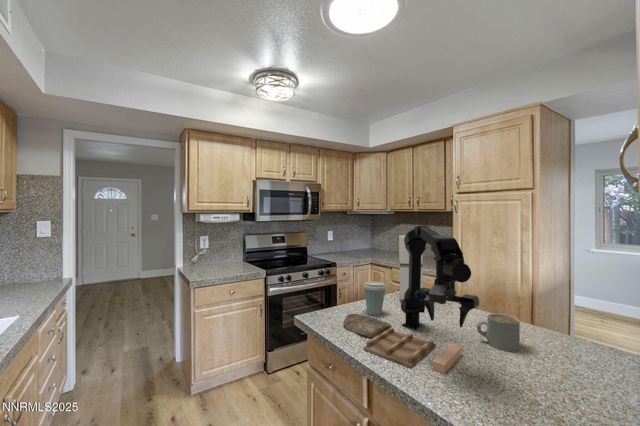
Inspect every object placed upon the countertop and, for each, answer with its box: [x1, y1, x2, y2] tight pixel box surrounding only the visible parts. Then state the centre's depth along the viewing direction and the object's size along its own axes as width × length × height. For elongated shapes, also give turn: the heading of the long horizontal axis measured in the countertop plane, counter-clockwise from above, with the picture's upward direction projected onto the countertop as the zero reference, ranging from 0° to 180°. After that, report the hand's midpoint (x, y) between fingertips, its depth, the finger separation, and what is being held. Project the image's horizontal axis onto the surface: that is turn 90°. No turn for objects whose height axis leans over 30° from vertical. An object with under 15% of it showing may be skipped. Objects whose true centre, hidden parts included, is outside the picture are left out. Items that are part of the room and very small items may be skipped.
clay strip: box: [432, 343, 463, 375], centre depth 98 cm, size 16×4×3 cm, turn 137°
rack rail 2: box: [408, 338, 435, 363], centre depth 102 cm, size 18×1×2 cm, turn 137°
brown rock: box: [342, 313, 393, 338], centre depth 125 cm, size 14×5×20 cm
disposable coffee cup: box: [363, 281, 387, 317], centre depth 142 cm, size 11×11×15 cm
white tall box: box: [398, 234, 424, 304], centre depth 161 cm, size 11×11×35 cm
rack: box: [363, 330, 437, 369], centre depth 107 cm, size 20×18×1 cm
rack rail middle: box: [386, 332, 414, 355], centre depth 107 cm, size 18×1×2 cm, turn 137°
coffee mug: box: [476, 312, 521, 353], centre depth 110 cm, size 13×10×10 cm
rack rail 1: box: [365, 326, 395, 348], centre depth 113 cm, size 18×1×2 cm, turn 137°
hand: (446, 323), depth 97 cm, fingers open, 9 cm apart
